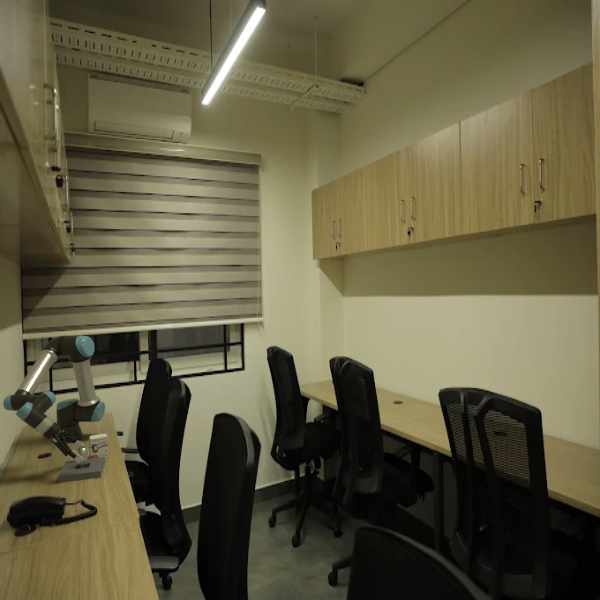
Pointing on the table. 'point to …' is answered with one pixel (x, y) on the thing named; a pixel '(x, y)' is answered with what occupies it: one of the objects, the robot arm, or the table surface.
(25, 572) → the table surface
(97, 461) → the hole block
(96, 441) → the ink box
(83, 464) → the steel pin
